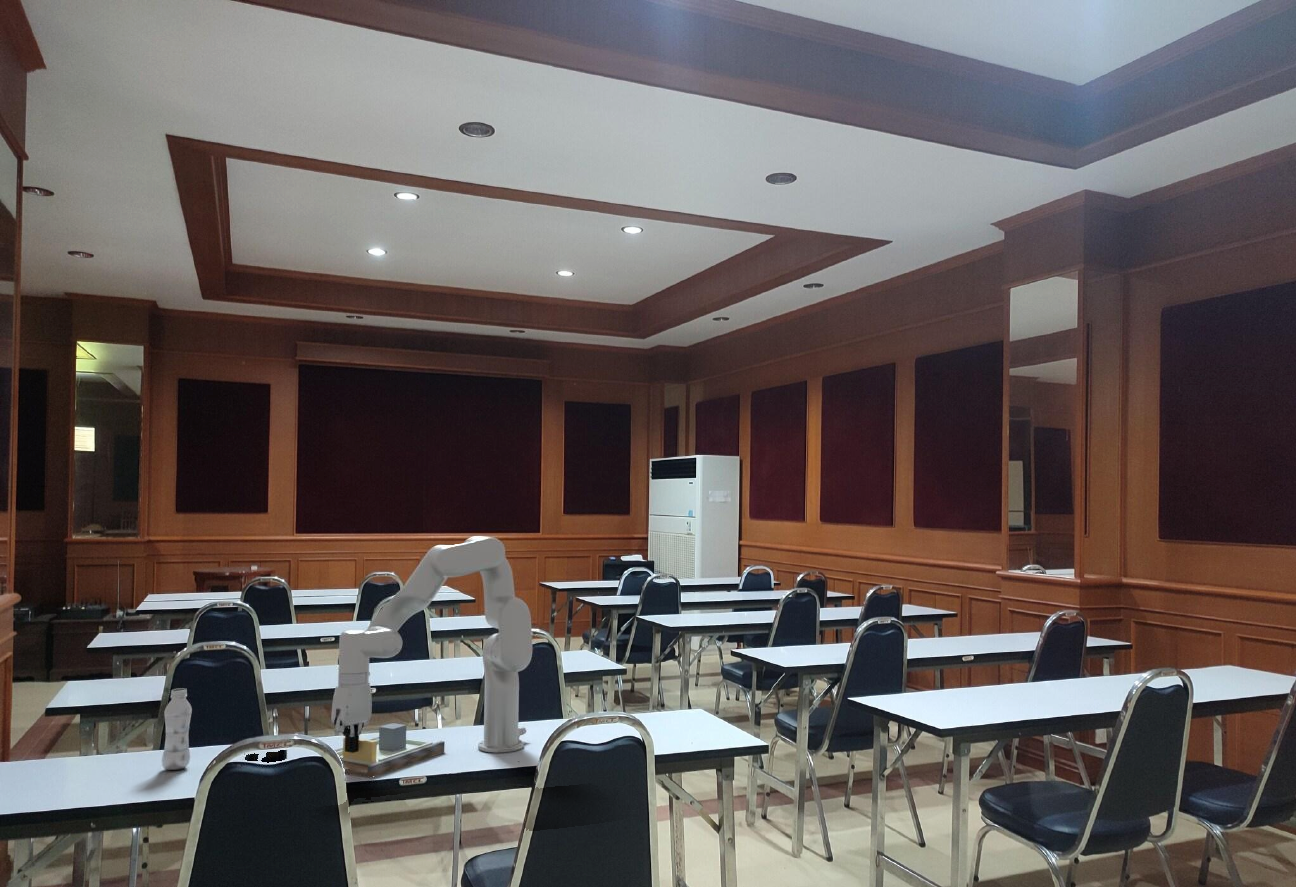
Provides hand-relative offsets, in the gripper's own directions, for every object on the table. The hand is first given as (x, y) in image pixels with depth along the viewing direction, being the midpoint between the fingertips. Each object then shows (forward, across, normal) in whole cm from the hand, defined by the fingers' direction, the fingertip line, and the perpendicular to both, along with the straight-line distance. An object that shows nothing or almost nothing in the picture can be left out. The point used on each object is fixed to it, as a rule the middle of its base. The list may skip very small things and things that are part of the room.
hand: (351, 751), depth 234 cm
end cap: (+5, +10, -19) cm, 22 cm away
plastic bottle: (+5, +20, -40) cm, 45 cm away
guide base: (+4, -11, 0) cm, 12 cm away
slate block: (+3, -15, 0) cm, 15 cm away
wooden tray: (+3, -12, 0) cm, 12 cm away
